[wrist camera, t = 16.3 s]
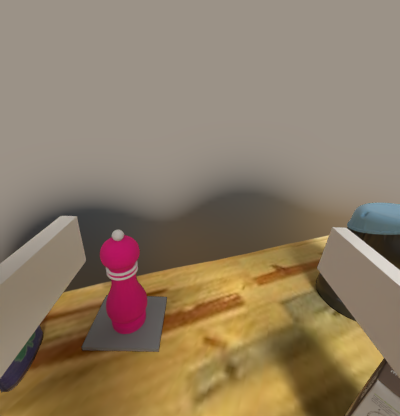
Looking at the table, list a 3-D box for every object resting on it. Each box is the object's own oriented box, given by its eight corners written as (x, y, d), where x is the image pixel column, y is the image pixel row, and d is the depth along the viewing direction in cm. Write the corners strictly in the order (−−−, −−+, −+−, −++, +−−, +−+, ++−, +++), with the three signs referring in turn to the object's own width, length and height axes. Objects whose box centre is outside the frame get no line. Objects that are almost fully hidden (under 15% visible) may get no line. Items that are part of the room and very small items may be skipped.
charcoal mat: (166, 299, 46) (166, 296, 46) (158, 351, 37) (158, 348, 36) (107, 297, 46) (106, 295, 46) (82, 350, 36) (81, 347, 36)
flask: (31, 332, 38) (12, 289, 34) (49, 331, 39) (32, 288, 34) (-6, 394, 30) (-38, 348, 25) (17, 391, 31) (-10, 345, 26)
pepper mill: (104, 316, 41) (85, 227, 33) (138, 297, 45) (129, 215, 37) (118, 345, 36) (100, 250, 28) (155, 321, 41) (149, 233, 32)
